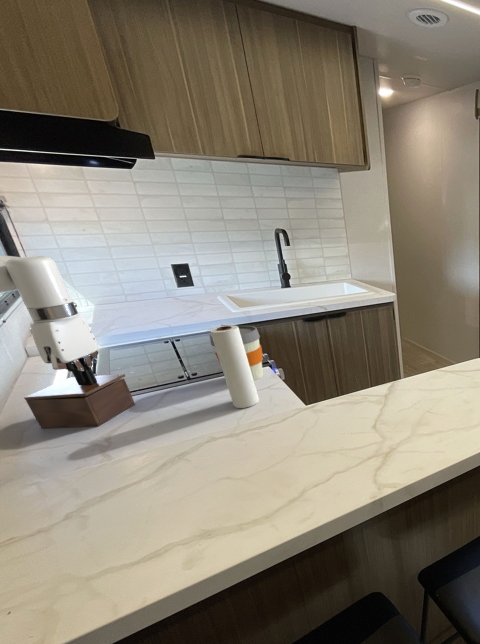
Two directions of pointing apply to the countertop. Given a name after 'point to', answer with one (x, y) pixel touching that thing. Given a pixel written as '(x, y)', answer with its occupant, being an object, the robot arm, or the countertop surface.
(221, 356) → the paper towel roll
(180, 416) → the countertop surface
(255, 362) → the reusable coffee cup
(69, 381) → the lid
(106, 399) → the chest
